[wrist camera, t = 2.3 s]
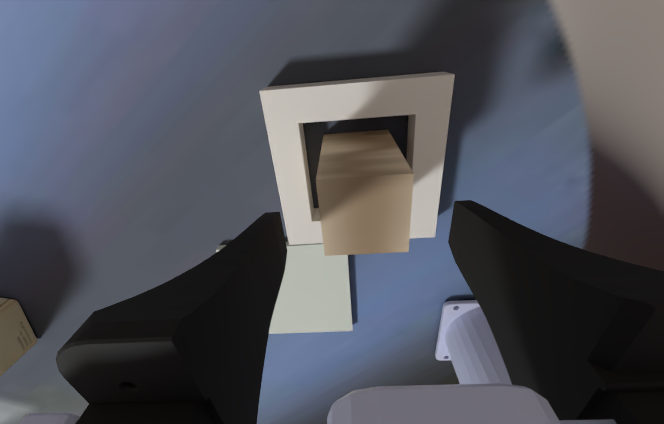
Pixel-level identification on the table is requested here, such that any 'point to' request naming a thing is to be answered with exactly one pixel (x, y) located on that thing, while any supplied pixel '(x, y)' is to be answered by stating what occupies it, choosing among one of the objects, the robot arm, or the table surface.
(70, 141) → the table surface
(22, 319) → the skincare box
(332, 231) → the birch block
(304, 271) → the tile
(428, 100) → the holder
